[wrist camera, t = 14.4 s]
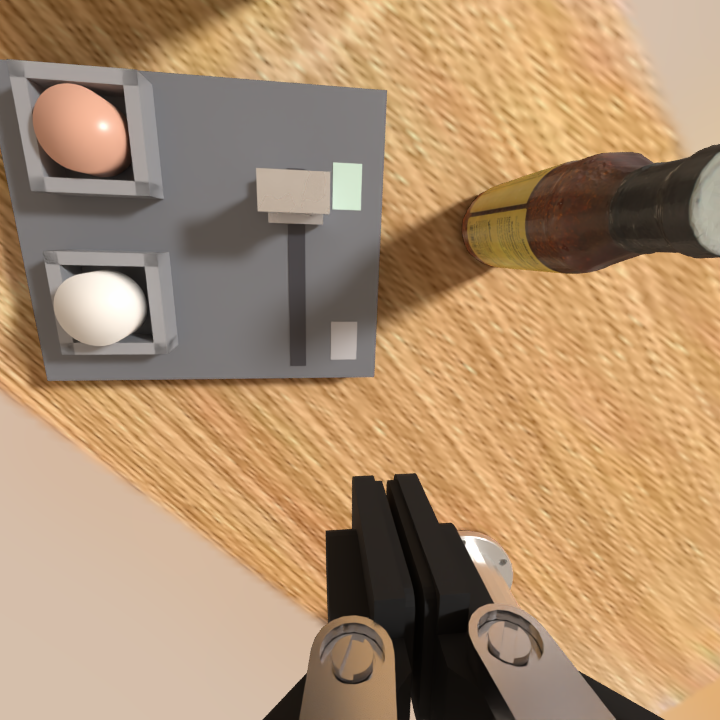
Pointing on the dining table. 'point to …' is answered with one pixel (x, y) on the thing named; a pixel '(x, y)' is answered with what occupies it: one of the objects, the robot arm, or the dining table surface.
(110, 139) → the terracotta button
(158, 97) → the control panel
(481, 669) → the robot arm
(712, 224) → the sauce bottle
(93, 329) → the offwhite button
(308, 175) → the slider knob
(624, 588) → the dining table surface
